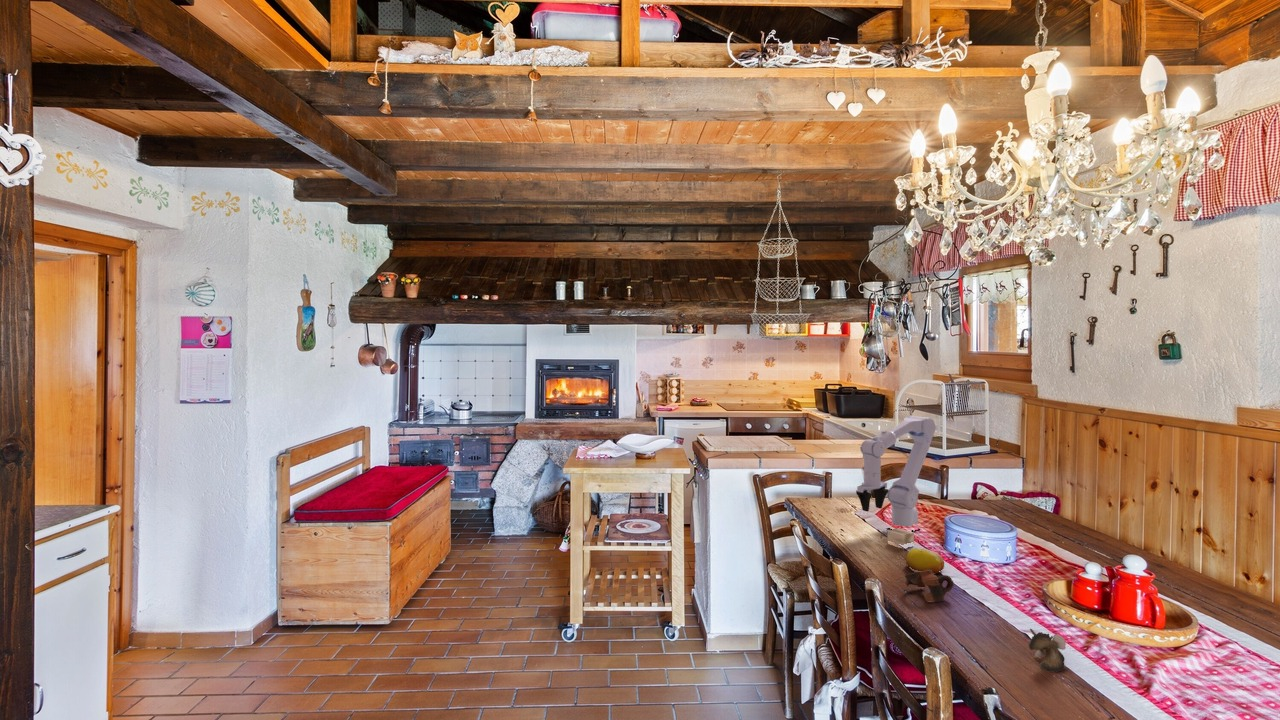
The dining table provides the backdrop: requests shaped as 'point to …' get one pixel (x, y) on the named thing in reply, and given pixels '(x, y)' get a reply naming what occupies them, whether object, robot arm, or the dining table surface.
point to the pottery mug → (930, 584)
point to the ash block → (900, 536)
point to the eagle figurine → (1048, 650)
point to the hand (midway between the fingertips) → (872, 509)
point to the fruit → (924, 560)
